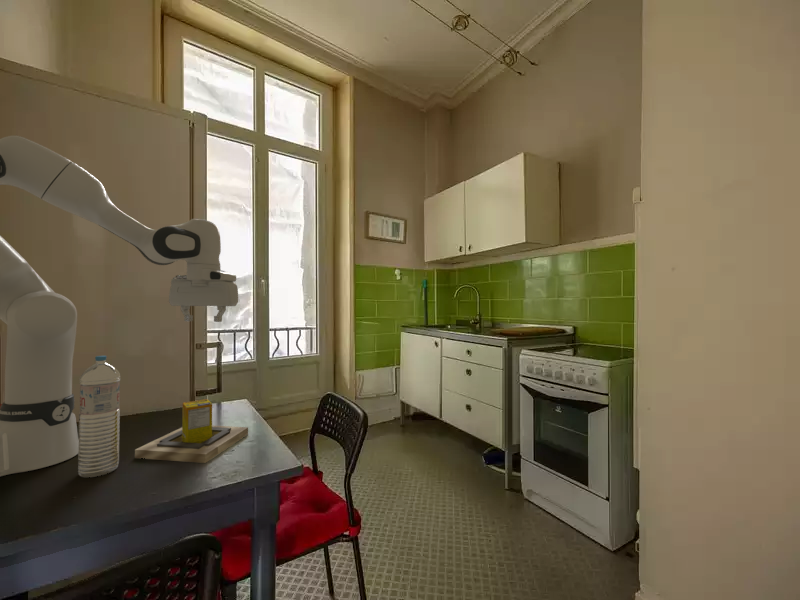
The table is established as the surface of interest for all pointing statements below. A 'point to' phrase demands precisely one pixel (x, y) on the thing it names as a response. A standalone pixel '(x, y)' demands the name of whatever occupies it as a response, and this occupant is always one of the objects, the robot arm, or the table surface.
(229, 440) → the socket block
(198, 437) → the supplement box
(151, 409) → the table surface
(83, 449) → the water bottle
